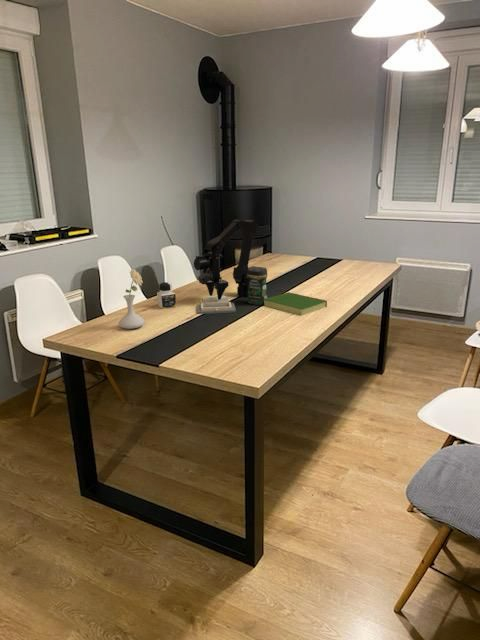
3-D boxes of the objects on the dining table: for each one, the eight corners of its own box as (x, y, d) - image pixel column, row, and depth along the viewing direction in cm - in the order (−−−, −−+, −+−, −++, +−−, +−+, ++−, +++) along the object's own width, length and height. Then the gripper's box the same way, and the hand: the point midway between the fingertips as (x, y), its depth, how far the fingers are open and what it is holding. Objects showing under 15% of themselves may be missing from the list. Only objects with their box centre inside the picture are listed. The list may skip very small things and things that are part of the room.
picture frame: (220, 300, 251) (220, 294, 250) (227, 302, 247) (227, 296, 246) (202, 303, 245) (202, 297, 244) (209, 306, 240) (209, 300, 239)
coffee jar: (245, 303, 242) (244, 267, 236) (253, 300, 248) (253, 264, 243) (261, 306, 237) (261, 269, 231) (269, 302, 243) (269, 266, 237)
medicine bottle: (162, 309, 235) (160, 285, 232) (157, 306, 241) (156, 282, 238) (176, 307, 238) (174, 283, 235) (171, 303, 245) (169, 280, 241)
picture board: (233, 304, 241) (233, 300, 240) (235, 312, 228) (235, 307, 228) (197, 306, 239) (197, 302, 239) (197, 314, 227) (197, 309, 226)
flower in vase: (132, 332, 203) (127, 274, 196) (113, 328, 209) (107, 271, 201) (153, 324, 214) (149, 268, 206) (134, 320, 220) (129, 265, 212)
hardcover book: (326, 308, 234) (326, 300, 233) (301, 316, 222) (302, 308, 220) (287, 299, 251) (287, 292, 250) (262, 306, 239) (262, 299, 238)
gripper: (191, 266, 244) (192, 296, 249) (207, 272, 229) (209, 304, 233) (211, 263, 249) (212, 293, 254) (228, 269, 234) (229, 300, 239)
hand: (215, 297), depth 245 cm, fingers open, 9 cm apart
